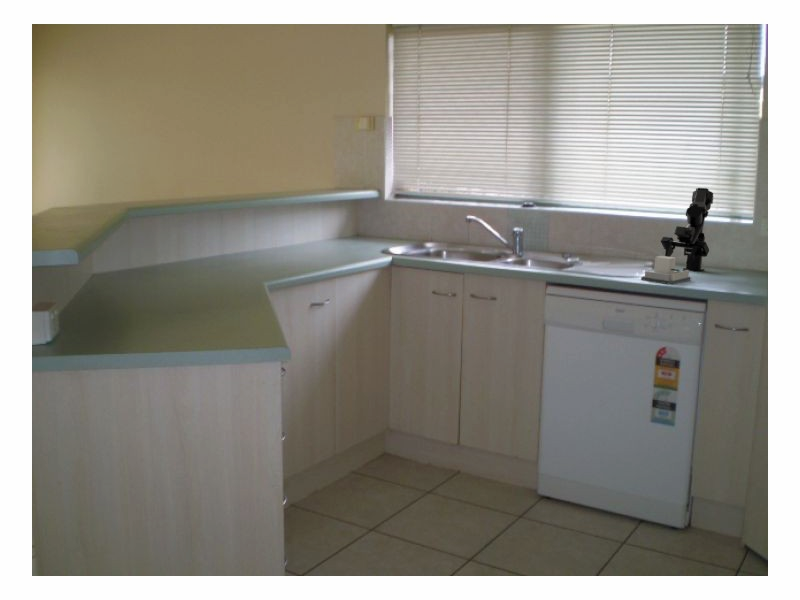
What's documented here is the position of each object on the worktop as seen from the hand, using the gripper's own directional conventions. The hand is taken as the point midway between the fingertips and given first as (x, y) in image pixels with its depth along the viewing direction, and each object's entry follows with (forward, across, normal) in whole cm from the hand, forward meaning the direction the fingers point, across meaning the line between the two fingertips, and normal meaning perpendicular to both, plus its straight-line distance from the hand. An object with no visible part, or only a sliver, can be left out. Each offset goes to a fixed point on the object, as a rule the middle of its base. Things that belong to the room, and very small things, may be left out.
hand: (676, 262), depth 353 cm
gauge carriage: (+10, +2, -3) cm, 10 cm away
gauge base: (+10, 0, -1) cm, 10 cm away
